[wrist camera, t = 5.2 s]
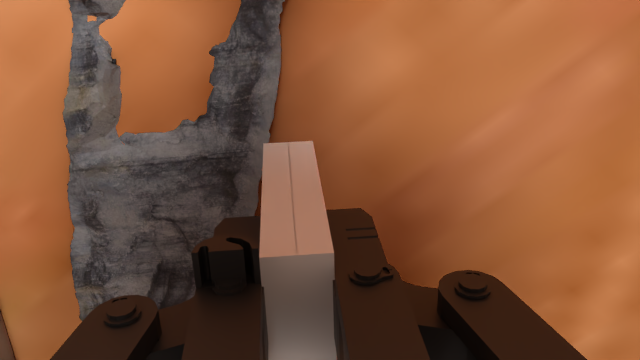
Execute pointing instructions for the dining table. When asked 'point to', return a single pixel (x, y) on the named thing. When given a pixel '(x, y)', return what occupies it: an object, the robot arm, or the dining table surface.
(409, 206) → the dining table surface
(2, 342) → the floorboard
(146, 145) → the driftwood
